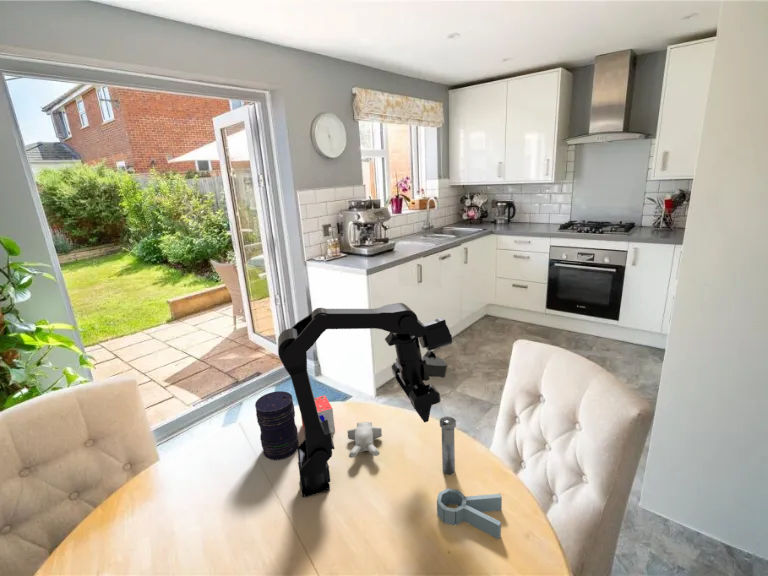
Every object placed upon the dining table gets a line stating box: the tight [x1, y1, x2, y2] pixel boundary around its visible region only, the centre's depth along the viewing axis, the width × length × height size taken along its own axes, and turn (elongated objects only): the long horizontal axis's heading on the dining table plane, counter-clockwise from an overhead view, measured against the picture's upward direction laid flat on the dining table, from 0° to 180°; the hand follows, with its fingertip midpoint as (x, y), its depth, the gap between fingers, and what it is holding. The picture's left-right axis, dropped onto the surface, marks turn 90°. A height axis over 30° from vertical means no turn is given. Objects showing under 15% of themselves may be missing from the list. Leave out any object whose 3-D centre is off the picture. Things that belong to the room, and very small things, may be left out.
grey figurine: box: [347, 421, 383, 459], centre depth 105 cm, size 10×5×15 cm
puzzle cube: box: [300, 395, 336, 434], centre depth 113 cm, size 8×8×8 cm
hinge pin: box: [439, 415, 457, 476], centre depth 93 cm, size 4×4×14 cm
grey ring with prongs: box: [436, 487, 503, 541], centre depth 81 cm, size 13×8×4 cm, turn 72°
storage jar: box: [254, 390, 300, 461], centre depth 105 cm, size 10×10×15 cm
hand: (419, 411), depth 96 cm, fingers open, 9 cm apart
